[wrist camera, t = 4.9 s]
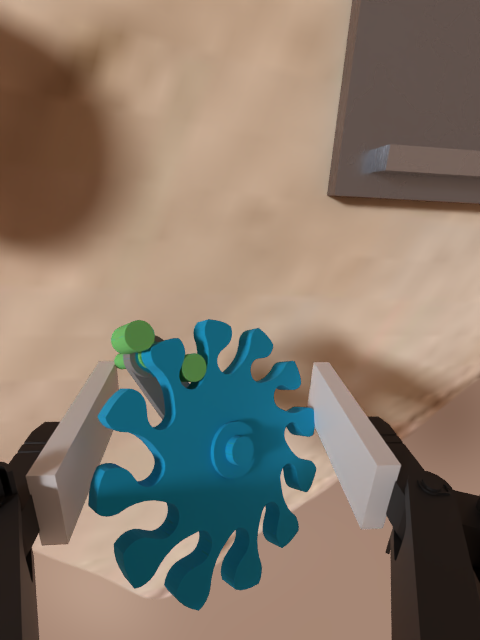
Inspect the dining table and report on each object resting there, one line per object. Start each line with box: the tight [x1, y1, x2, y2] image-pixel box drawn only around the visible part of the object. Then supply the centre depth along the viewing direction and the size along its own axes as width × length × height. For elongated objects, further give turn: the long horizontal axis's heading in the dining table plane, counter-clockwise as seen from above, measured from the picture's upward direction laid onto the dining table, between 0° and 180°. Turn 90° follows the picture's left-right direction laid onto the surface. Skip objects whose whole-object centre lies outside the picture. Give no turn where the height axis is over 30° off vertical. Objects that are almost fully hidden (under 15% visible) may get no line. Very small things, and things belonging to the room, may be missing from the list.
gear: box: [88, 319, 316, 610], centre depth 14 cm, size 11×6×10 cm
